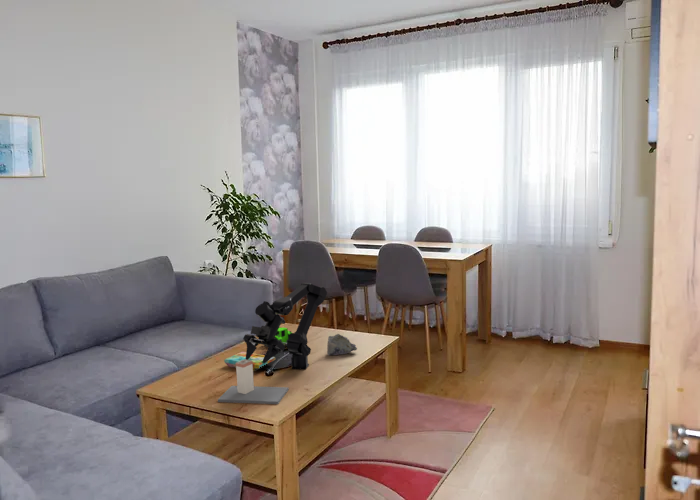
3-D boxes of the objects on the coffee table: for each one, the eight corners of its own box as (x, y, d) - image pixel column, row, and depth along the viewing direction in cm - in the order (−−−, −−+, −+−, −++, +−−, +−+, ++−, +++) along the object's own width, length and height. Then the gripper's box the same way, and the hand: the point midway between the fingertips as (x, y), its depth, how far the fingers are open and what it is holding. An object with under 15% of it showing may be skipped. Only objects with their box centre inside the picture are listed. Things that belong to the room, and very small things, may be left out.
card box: (246, 387, 222) (244, 359, 221) (254, 389, 220) (252, 360, 219) (237, 392, 218) (235, 363, 217) (245, 394, 216) (243, 364, 214)
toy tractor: (274, 341, 288) (273, 322, 287) (297, 346, 278) (296, 327, 276) (258, 347, 279) (257, 328, 278) (281, 352, 269) (280, 332, 268)
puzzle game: (241, 350, 261) (275, 355, 251) (241, 359, 262) (275, 365, 252) (224, 357, 251) (258, 363, 241) (224, 367, 251) (259, 373, 242)
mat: (288, 389, 221) (288, 387, 221) (278, 404, 208) (278, 401, 208) (231, 388, 226) (231, 385, 225) (217, 402, 212) (217, 399, 212)
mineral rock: (358, 352, 264) (357, 332, 263) (346, 359, 255) (346, 338, 254) (335, 349, 271) (334, 329, 269) (323, 356, 262) (322, 335, 260)
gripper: (244, 315, 230) (226, 348, 222) (278, 320, 219) (261, 355, 212) (258, 328, 237) (242, 361, 230) (292, 334, 227) (276, 368, 219)
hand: (254, 361), depth 223 cm, fingers open, 9 cm apart
